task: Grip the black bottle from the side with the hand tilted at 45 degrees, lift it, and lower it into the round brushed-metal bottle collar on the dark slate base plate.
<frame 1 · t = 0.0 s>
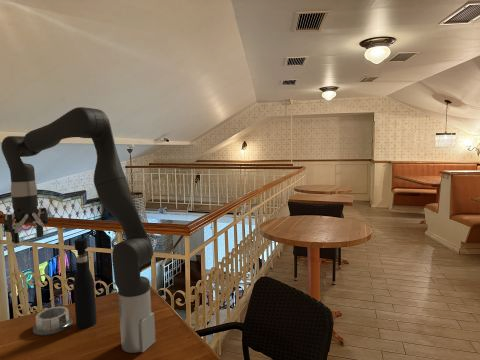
hand: (28, 240, 116), 29 cm above the table, tool pointing down, fingers open, 8 cm apart
black bottle: (86, 324, 115), on the table
bottle collar: (53, 325, 115), on the table
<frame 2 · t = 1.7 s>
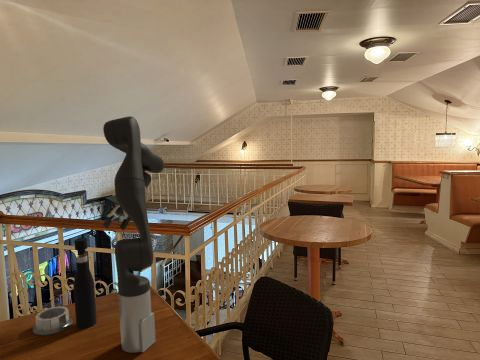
hand: (113, 228, 125), 31 cm above the table, tool tilted 45°, fingers open, 8 cm apart
nothing on the table moved.
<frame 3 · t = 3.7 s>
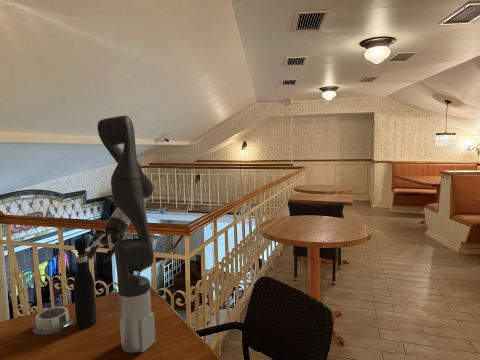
hand: (96, 259, 119), 21 cm above the table, tool tilted 45°, fingers open, 8 cm apart
nothing on the table moved.
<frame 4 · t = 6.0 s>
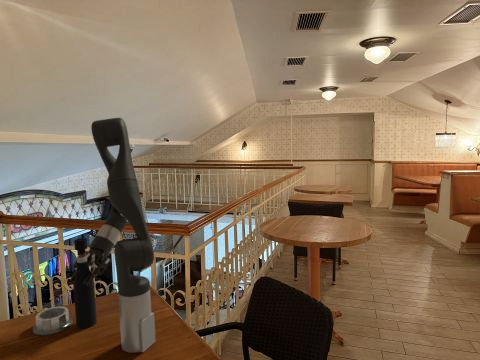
hand: (79, 283, 112), 15 cm above the table, tool tilted 45°, fingers closed on black bottle, 6 cm apart
black bottle: (86, 324, 115), on the table, touching gripper
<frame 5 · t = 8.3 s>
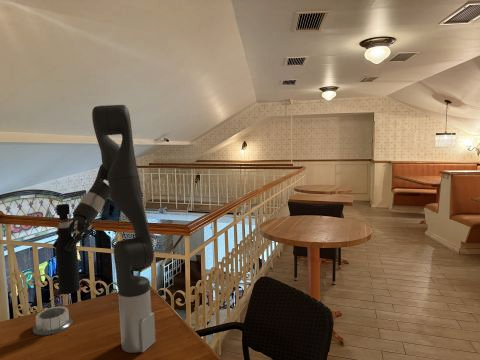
hand: (61, 248, 111), 27 cm above the table, tool tilted 45°, fingers closed on black bottle, 6 cm apart
black bottle: (69, 291, 115), point 12 cm above the table, touching gripper
when the fingers open (17 cm above the table, at t = 10.8 s): black bottle drops 1 cm, resting on bottle collar.
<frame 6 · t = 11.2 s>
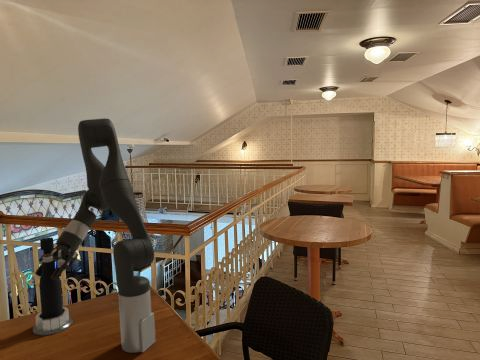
hand: (45, 277, 112), 18 cm above the table, tool tilted 45°, fingers open, 8 cm apart
black bottle: (53, 324, 115), resting on bottle collar
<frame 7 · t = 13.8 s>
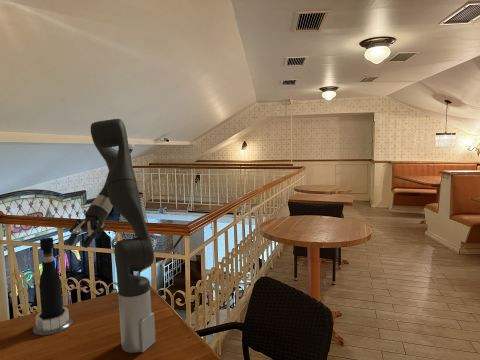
hand: (76, 245, 122), 25 cm above the table, tool tilted 45°, fingers open, 8 cm apart
nothing on the table moved.
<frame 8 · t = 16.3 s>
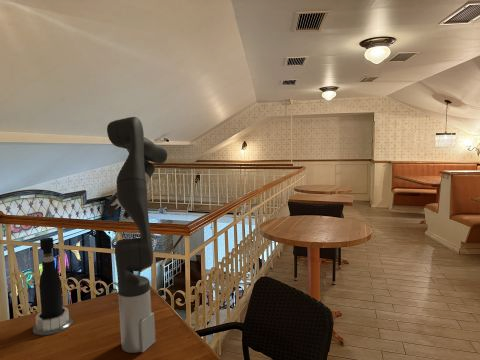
hand: (116, 216, 127), 35 cm above the table, tool tilted 45°, fingers open, 8 cm apart
nothing on the table moved.
at the end: black bottle 0.4 cm off-centre on the bottle collar, point 0.4 cm above the bottle collar's base; black bottle tilted 0°; the gripper is holding nothing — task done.
